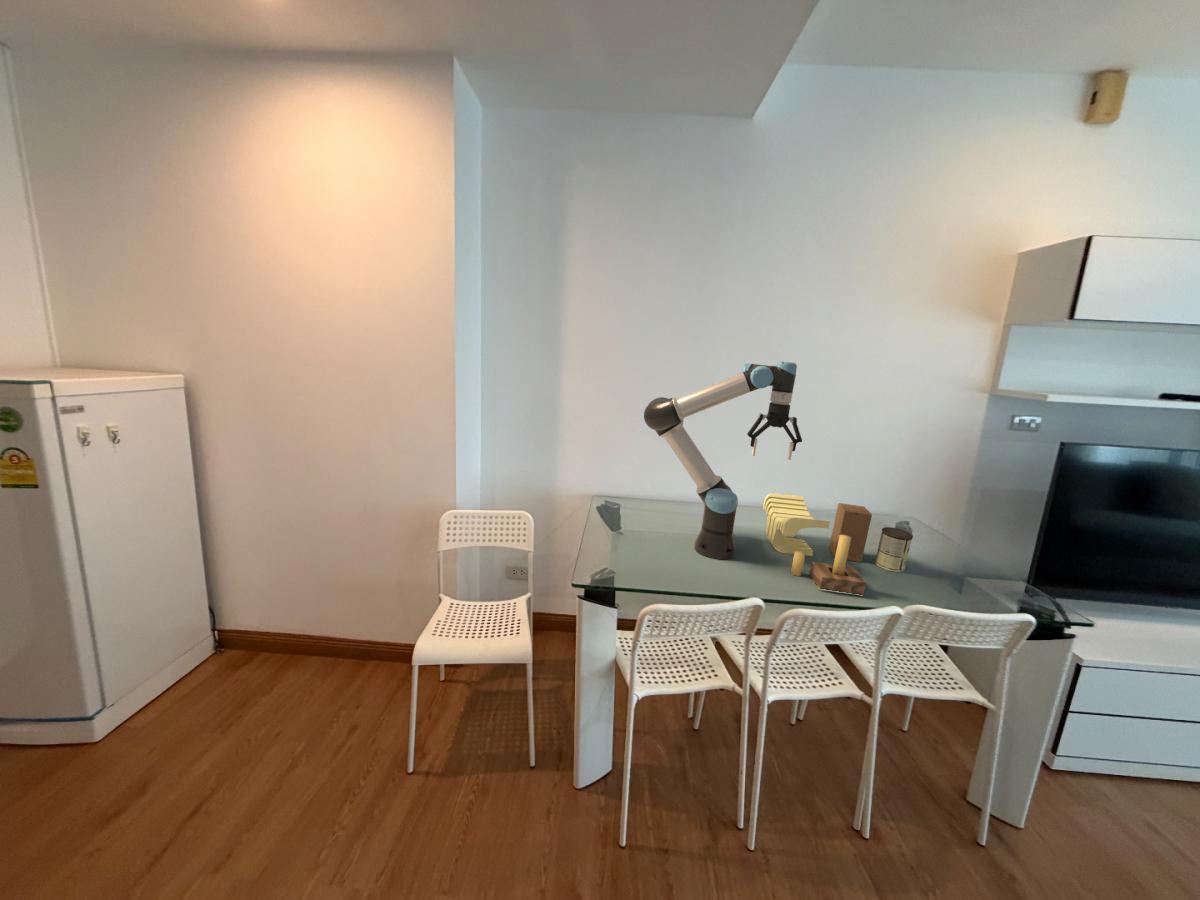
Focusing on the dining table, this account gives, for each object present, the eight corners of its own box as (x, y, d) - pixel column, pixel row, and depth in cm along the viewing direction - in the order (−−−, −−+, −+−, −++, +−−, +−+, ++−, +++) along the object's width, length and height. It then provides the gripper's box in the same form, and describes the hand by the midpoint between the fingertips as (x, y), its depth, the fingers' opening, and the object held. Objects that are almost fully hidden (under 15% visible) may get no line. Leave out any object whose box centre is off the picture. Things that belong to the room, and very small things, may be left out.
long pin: (831, 586, 171) (841, 538, 167) (828, 582, 174) (838, 534, 170) (842, 588, 171) (852, 539, 167) (838, 583, 174) (849, 535, 170)
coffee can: (872, 558, 199) (879, 525, 196) (901, 563, 196) (909, 530, 193) (877, 568, 190) (885, 533, 187) (907, 574, 187) (916, 539, 183)
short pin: (791, 575, 177) (795, 554, 175) (789, 570, 181) (793, 550, 179) (802, 576, 177) (806, 555, 175) (799, 572, 180) (803, 551, 178)
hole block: (819, 590, 167) (822, 577, 166) (809, 574, 179) (812, 561, 178) (863, 596, 166) (866, 582, 165) (849, 579, 178) (852, 567, 177)
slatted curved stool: (758, 531, 218) (765, 492, 214) (795, 535, 217) (803, 496, 213) (778, 560, 188) (786, 516, 184) (820, 565, 188) (829, 521, 184)
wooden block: (861, 562, 194) (872, 514, 189) (834, 558, 195) (844, 510, 191) (854, 552, 203) (864, 506, 199) (828, 548, 205) (837, 502, 201)
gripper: (748, 400, 187) (739, 455, 191) (817, 407, 184) (806, 463, 189) (745, 398, 194) (737, 451, 199) (811, 405, 191) (801, 458, 196)
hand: (770, 457), depth 194 cm, fingers open, 13 cm apart
